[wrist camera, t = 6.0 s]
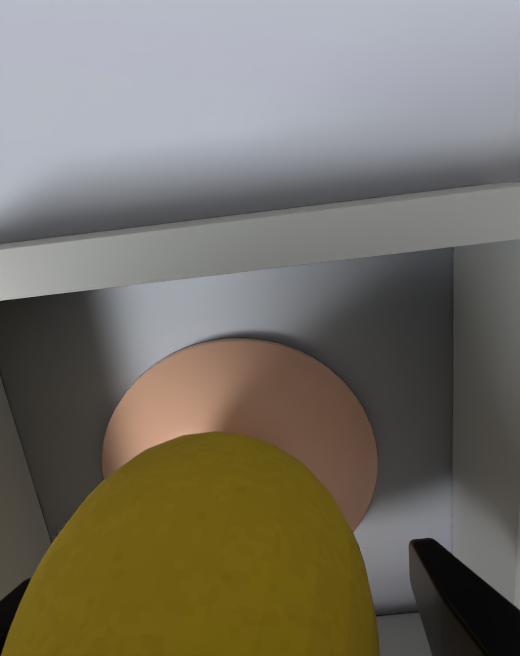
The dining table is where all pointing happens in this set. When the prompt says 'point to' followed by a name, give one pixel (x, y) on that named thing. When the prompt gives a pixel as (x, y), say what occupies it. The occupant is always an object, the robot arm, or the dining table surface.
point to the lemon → (201, 562)
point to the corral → (304, 365)
